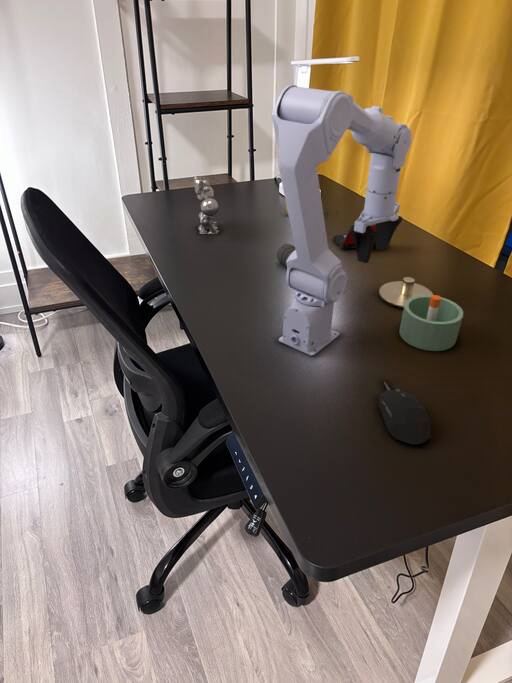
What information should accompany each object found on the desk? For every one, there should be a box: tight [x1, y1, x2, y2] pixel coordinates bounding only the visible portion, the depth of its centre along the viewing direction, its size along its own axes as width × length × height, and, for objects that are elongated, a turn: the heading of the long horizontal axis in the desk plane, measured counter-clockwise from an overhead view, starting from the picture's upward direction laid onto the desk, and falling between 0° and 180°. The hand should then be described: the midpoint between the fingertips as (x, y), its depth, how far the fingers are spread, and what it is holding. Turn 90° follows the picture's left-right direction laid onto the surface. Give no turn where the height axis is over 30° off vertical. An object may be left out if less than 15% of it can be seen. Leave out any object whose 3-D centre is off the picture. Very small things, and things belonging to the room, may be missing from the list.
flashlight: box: [276, 243, 296, 268], centre depth 118 cm, size 15×5×5 cm, turn 25°
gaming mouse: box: [377, 381, 432, 445], centre depth 78 cm, size 6×15×4 cm, turn 6°
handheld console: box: [332, 224, 376, 250], centre depth 132 cm, size 12×11×7 cm
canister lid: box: [378, 276, 434, 309], centre depth 109 cm, size 12×12×4 cm
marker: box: [426, 294, 441, 321], centre depth 95 cm, size 2×2×8 cm
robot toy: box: [193, 175, 220, 235], centre depth 136 cm, size 15×6×15 cm, turn 12°
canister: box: [399, 295, 464, 352], centre depth 96 cm, size 11×11×6 cm
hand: (372, 255), depth 104 cm, fingers open, 7 cm apart
